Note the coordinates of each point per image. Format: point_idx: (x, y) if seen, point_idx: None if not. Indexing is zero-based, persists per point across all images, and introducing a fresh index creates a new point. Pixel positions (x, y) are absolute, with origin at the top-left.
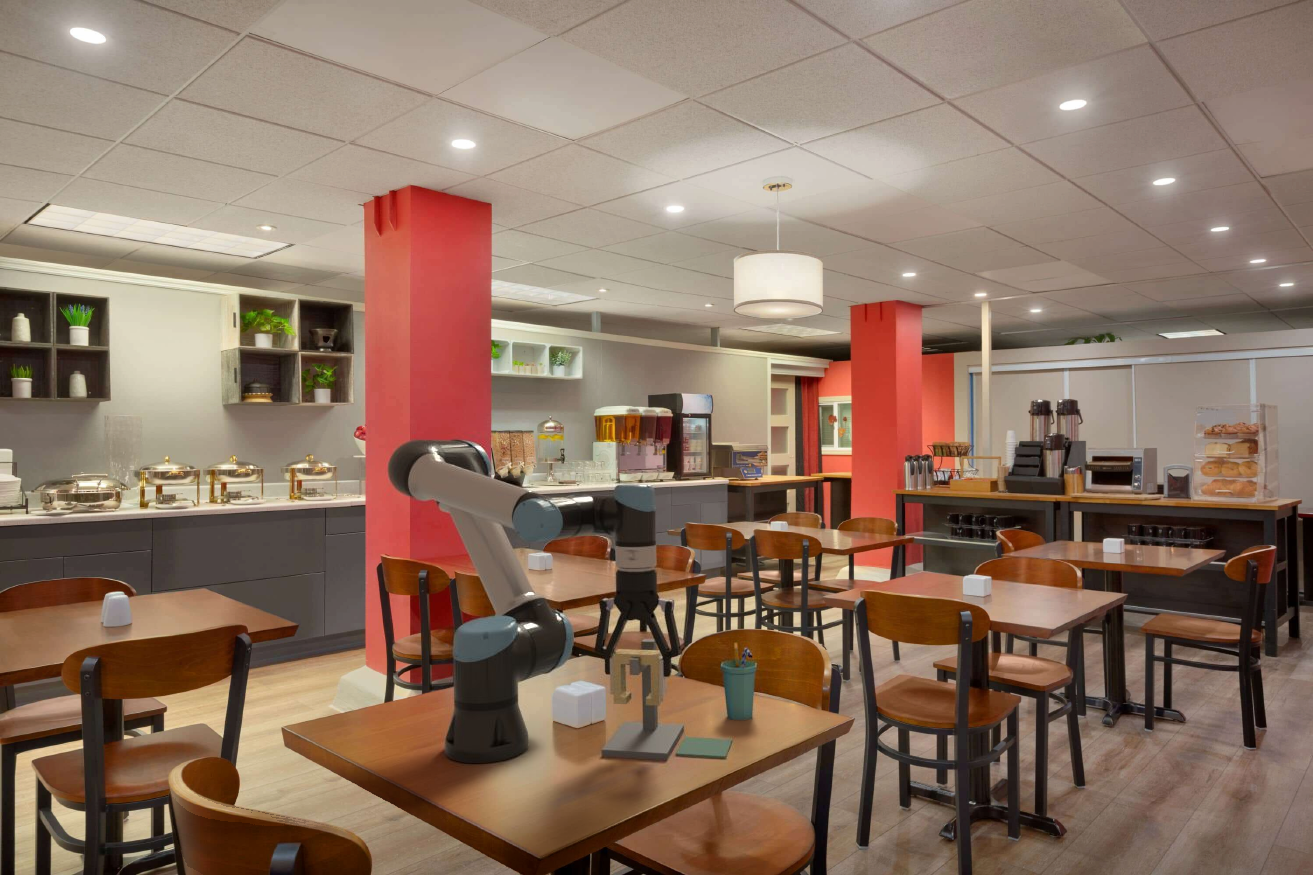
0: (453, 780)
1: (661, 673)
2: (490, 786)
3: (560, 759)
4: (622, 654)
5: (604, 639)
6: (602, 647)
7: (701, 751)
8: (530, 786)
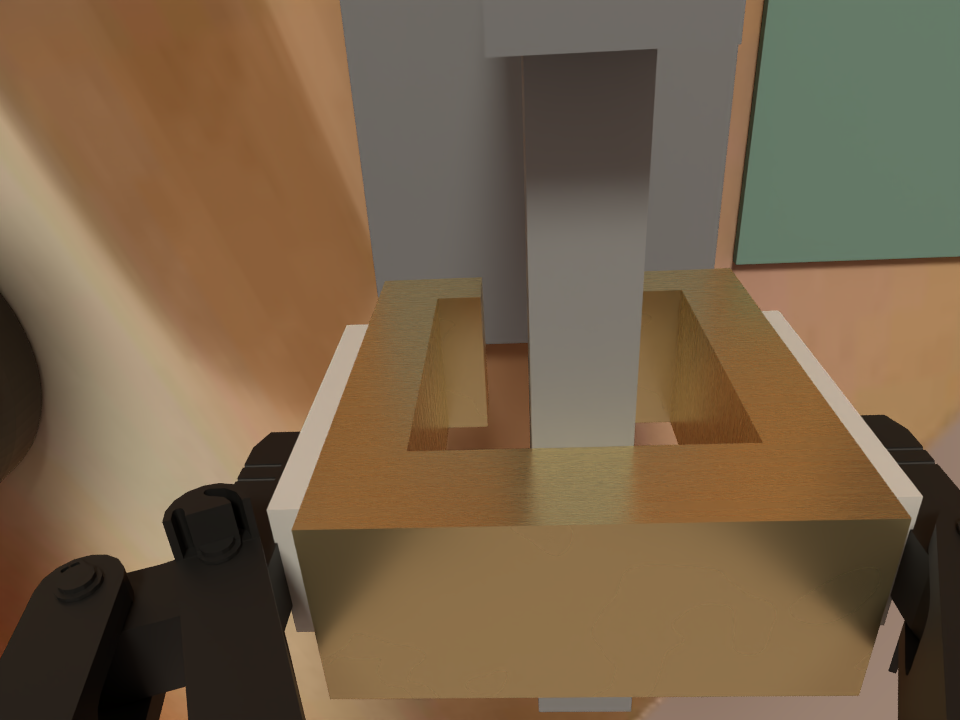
0: (4, 609)
1: None
2: None
3: (234, 395)
4: (440, 690)
5: (87, 703)
6: (147, 678)
7: (870, 213)
8: None
